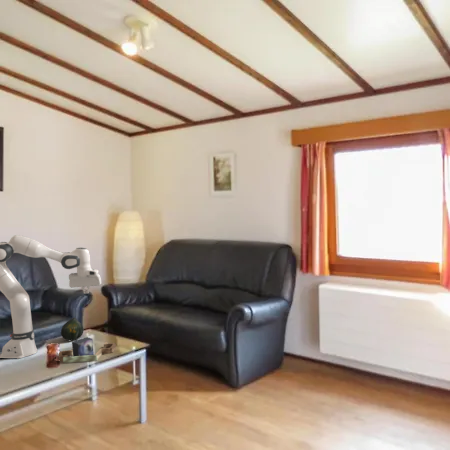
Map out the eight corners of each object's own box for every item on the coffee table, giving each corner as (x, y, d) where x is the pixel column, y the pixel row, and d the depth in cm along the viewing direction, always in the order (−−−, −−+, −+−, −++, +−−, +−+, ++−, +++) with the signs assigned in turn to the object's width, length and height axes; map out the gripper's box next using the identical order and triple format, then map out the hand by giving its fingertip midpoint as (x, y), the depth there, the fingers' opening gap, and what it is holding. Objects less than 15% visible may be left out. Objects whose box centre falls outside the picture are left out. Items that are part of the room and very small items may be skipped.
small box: (78, 361, 265) (76, 343, 264) (72, 359, 269) (71, 341, 269) (94, 355, 273) (92, 338, 272) (88, 353, 277) (86, 336, 277)
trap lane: (52, 363, 263) (52, 358, 263) (67, 349, 289) (67, 344, 288) (107, 359, 263) (107, 354, 263) (117, 345, 289) (117, 340, 288)
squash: (55, 336, 301) (69, 317, 303) (58, 331, 316) (72, 313, 317) (73, 348, 303) (87, 329, 305) (75, 342, 318) (89, 324, 320)
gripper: (66, 274, 293) (68, 295, 293) (98, 271, 293) (100, 293, 293) (70, 272, 299) (72, 293, 300) (101, 270, 299) (103, 291, 300)
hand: (86, 293), depth 297 cm, fingers closed
